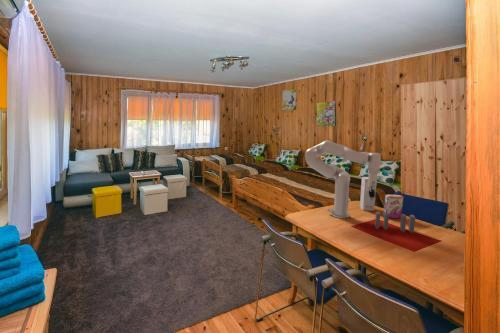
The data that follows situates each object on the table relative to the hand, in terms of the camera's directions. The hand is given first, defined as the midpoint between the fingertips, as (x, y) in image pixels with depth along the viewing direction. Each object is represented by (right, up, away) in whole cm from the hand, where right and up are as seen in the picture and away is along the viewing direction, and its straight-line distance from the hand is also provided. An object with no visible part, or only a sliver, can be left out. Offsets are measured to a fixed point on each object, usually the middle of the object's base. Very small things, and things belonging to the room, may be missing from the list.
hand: (371, 196), depth 200 cm
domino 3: (+3, -20, -14) cm, 24 cm away
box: (+8, -13, +27) cm, 31 cm away
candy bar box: (+18, -17, +7) cm, 26 cm away
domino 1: (0, -2, 0) cm, 3 cm away
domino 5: (+17, -20, -18) cm, 32 cm away
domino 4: (+13, -20, -17) cm, 29 cm away
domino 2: (-2, -19, -12) cm, 23 cm away
